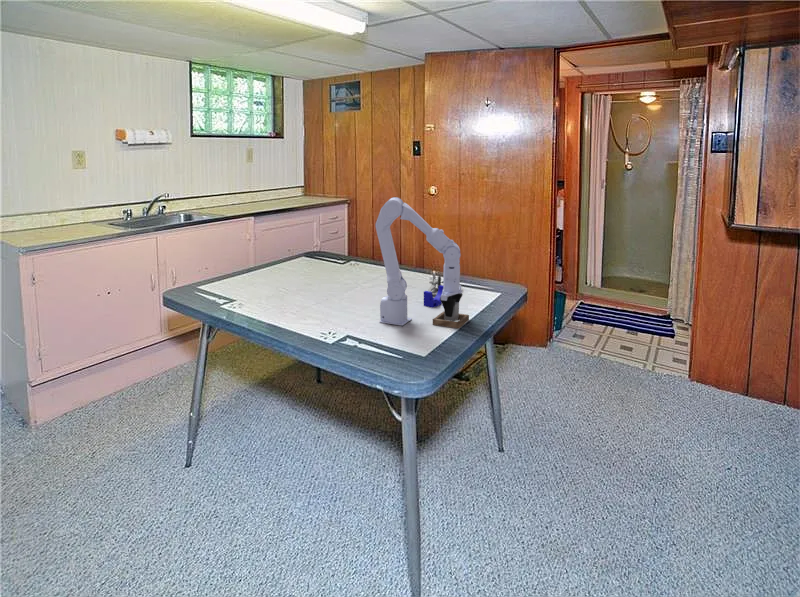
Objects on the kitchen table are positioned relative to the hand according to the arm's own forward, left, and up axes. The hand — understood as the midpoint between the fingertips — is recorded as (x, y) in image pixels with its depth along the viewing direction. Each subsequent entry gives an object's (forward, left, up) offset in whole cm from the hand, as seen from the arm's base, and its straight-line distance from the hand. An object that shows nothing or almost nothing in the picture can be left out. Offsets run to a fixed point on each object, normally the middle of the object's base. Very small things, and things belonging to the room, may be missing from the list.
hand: (451, 314), depth 191 cm
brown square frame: (0, 0, -3) cm, 3 cm away
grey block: (0, 0, -2) cm, 2 cm away
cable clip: (-14, +20, -3) cm, 24 cm away
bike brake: (-17, +33, -3) cm, 37 cm away
